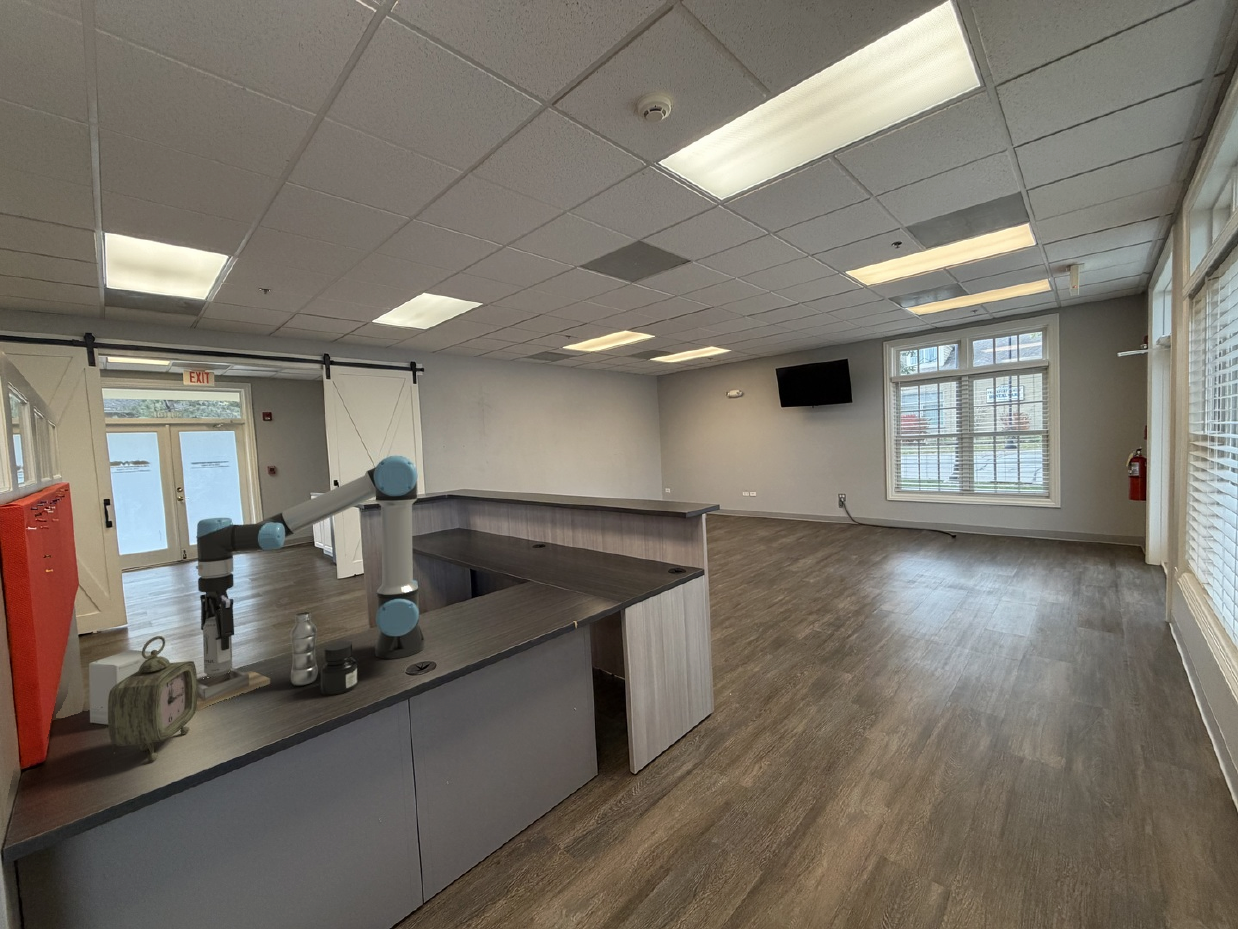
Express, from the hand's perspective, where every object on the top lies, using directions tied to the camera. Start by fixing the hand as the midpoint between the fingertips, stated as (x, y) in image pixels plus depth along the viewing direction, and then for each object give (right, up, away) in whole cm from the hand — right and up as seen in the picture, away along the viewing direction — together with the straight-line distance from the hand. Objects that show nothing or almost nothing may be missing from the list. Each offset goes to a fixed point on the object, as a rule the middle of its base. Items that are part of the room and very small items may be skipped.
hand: (218, 658), depth 136 cm
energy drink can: (0, -4, 0) cm, 4 cm away
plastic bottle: (+20, -10, +6) cm, 23 cm away
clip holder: (0, -10, 0) cm, 10 cm away
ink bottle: (+32, -10, +3) cm, 33 cm away
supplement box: (-15, -11, -11) cm, 21 cm away
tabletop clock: (+6, -10, -25) cm, 28 cm away
